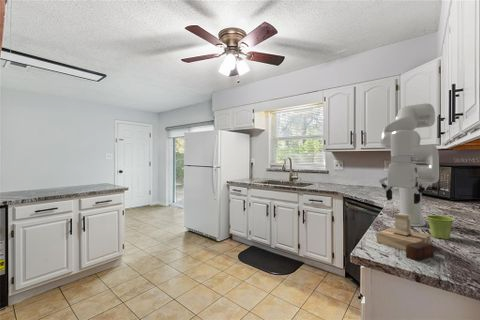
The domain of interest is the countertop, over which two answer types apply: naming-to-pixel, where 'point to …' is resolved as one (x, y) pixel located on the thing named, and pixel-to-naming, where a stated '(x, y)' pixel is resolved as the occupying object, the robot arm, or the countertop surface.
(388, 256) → the countertop surface
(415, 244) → the brick
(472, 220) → the countertop surface
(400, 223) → the peg
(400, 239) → the seat board
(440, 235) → the plant pot
